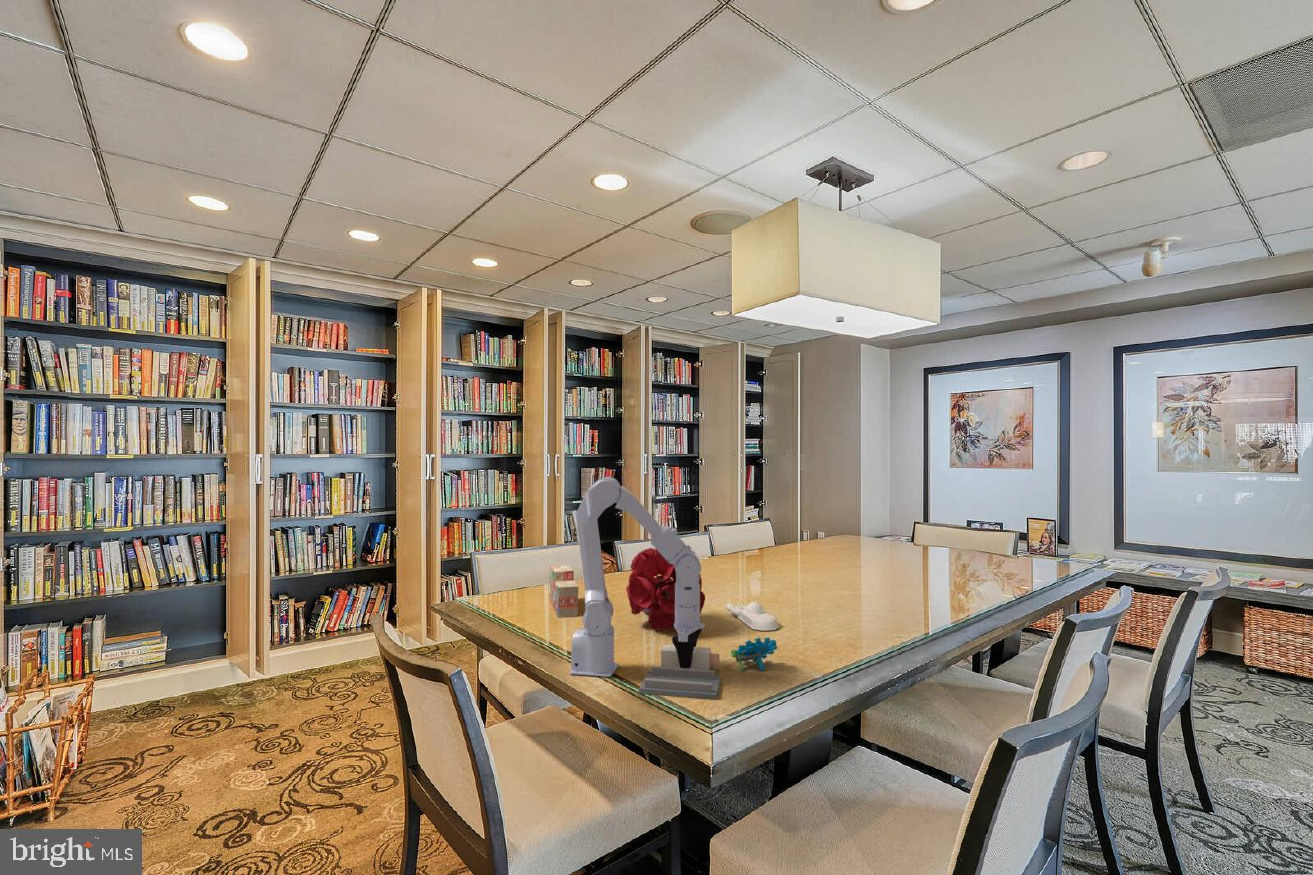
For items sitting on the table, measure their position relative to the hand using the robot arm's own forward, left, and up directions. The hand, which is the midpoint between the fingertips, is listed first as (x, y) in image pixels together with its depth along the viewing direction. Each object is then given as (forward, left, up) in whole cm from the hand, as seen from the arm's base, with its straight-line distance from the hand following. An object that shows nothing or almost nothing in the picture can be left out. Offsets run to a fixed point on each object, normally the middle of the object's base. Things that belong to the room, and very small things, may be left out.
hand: (687, 664), depth 136 cm
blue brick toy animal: (+15, +6, -2) cm, 16 cm away
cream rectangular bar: (0, 0, -2) cm, 2 cm away
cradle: (0, -10, -1) cm, 10 cm away
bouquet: (-12, +35, -2) cm, 37 cm away
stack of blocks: (-47, +47, -2) cm, 66 cm away
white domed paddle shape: (+14, +43, -2) cm, 45 cm away
